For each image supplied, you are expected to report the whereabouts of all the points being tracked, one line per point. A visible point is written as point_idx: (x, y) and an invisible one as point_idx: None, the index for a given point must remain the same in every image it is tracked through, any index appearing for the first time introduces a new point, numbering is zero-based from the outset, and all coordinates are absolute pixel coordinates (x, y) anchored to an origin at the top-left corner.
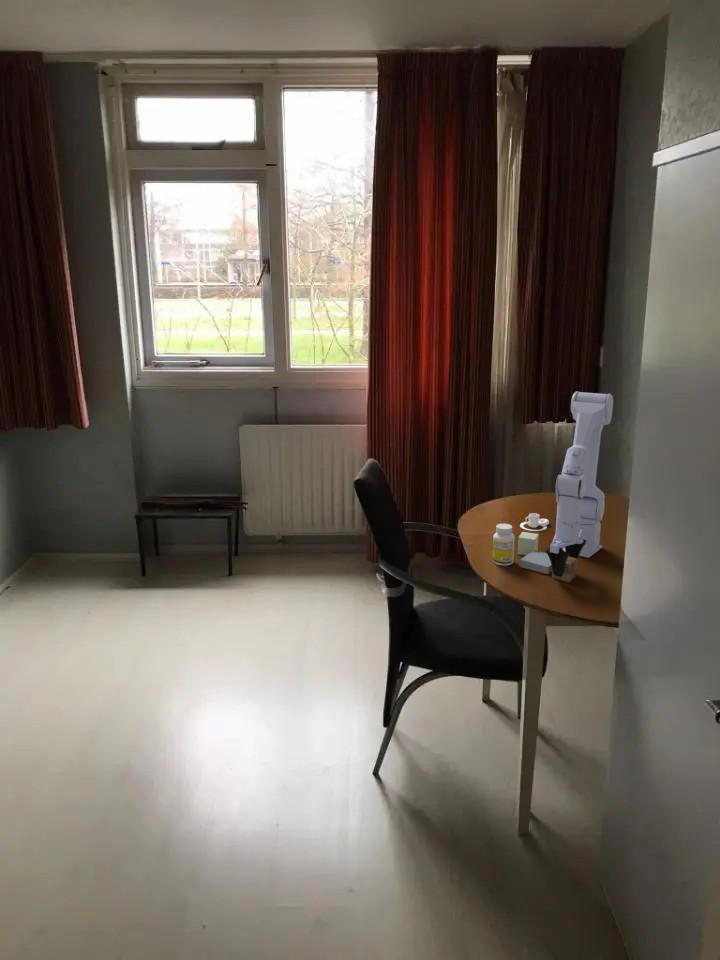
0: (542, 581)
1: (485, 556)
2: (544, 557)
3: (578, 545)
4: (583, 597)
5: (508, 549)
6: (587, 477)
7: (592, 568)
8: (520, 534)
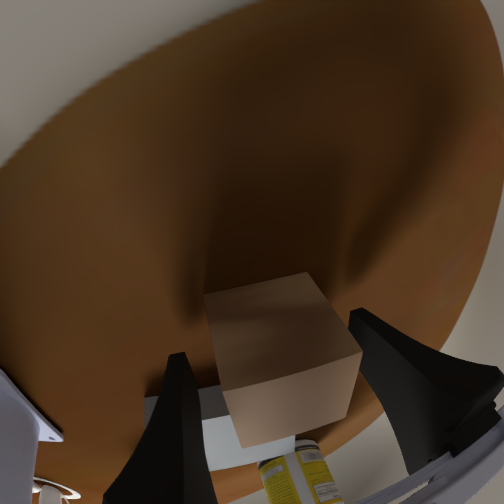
0: None
1: None
2: (212, 446)
3: (193, 497)
4: (418, 116)
5: (323, 483)
6: None
7: (40, 302)
8: None
